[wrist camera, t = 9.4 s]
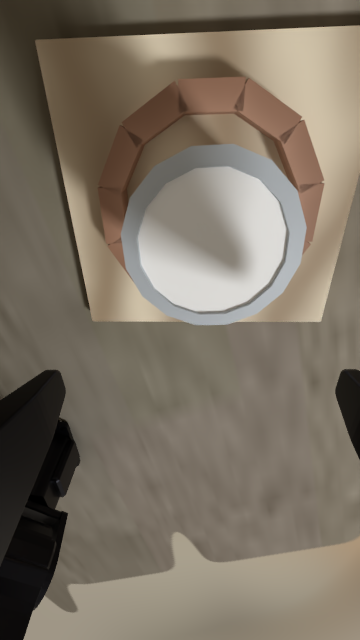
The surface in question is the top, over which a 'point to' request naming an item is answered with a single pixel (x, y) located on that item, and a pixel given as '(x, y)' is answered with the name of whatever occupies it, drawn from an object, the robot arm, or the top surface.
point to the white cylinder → (213, 234)
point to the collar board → (205, 138)
